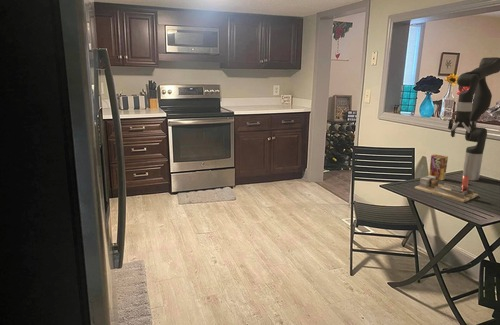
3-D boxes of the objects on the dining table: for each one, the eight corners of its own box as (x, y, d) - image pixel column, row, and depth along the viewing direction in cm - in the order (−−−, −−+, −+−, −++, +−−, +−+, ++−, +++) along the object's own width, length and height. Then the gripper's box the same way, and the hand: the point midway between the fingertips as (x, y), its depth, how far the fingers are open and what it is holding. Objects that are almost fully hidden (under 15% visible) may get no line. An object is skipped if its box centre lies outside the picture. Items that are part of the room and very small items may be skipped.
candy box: (445, 179, 227) (448, 156, 223) (442, 180, 224) (445, 157, 220) (431, 176, 233) (434, 153, 229) (428, 177, 231) (431, 154, 227)
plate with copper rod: (457, 191, 202) (460, 172, 199) (469, 194, 196) (472, 175, 194) (450, 193, 198) (453, 175, 195) (462, 197, 192) (465, 178, 190)
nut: (432, 185, 212) (433, 179, 211) (439, 187, 209) (440, 181, 208) (428, 187, 210) (429, 180, 209) (435, 188, 207) (436, 182, 206)
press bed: (429, 183, 220) (431, 173, 218) (477, 196, 197) (479, 185, 195) (414, 188, 211) (415, 178, 210) (463, 202, 189) (464, 191, 187)
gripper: (480, 110, 196) (476, 139, 201) (454, 108, 208) (451, 135, 212) (474, 111, 192) (469, 140, 197) (448, 109, 204) (444, 137, 208)
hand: (460, 137), depth 204 cm, fingers open, 8 cm apart
